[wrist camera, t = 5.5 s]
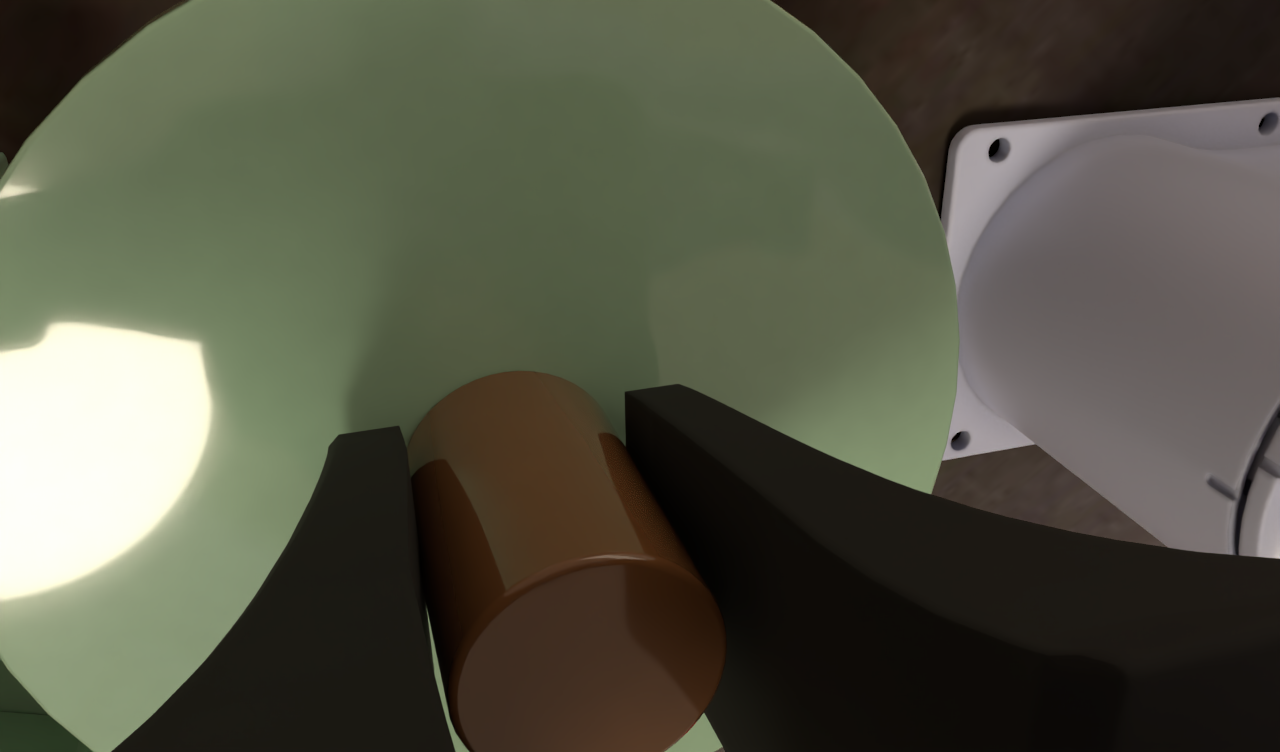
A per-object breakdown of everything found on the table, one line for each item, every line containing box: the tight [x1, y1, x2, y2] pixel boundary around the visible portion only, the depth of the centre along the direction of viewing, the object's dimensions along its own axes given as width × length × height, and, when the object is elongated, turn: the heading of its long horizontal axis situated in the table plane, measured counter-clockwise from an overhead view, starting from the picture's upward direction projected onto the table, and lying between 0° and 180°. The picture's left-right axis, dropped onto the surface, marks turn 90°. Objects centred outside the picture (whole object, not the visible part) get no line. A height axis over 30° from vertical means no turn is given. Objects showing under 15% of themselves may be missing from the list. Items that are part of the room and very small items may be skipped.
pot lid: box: [0, 0, 960, 752], centre depth 11 cm, size 11×11×5 cm
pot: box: [0, 152, 93, 752], centre depth 19 cm, size 10×16×5 cm, turn 0°
